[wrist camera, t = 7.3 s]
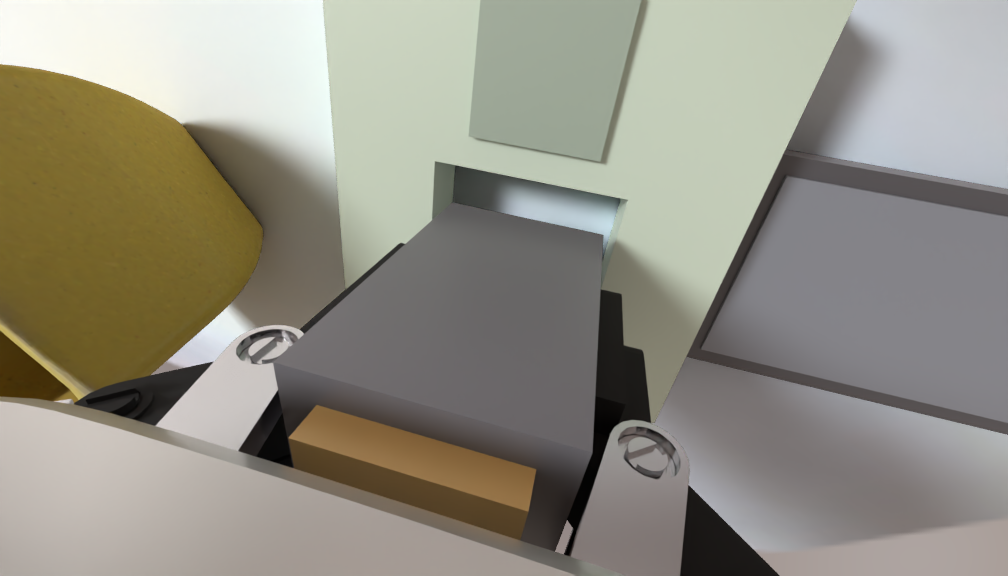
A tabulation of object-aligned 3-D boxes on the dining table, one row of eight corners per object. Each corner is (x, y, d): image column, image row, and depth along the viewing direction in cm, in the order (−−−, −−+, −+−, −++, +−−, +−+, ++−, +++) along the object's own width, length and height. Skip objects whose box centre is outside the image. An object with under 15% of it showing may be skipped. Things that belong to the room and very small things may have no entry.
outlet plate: (360, -68, 11) (310, -91, 9) (821, -5, 10) (870, -19, 8) (373, 315, 18) (346, 345, 16) (649, 385, 17) (654, 427, 15)
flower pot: (330, 256, 17) (103, 420, 9) (209, 316, 21) (-27, 471, 13) (173, 37, 14) (-349, 20, 6) (63, 152, 18) (-359, 229, 10)
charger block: (452, 202, 12) (238, 391, 5) (603, 234, 11) (589, 496, 5) (442, 324, 14) (285, 570, 7) (568, 356, 14) (525, 654, 7)
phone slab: (755, 144, 12) (768, 151, 11) (1256, 233, 10) (1320, 251, 9) (671, 337, 15) (674, 355, 14) (1032, 423, 14) (1062, 449, 13)
